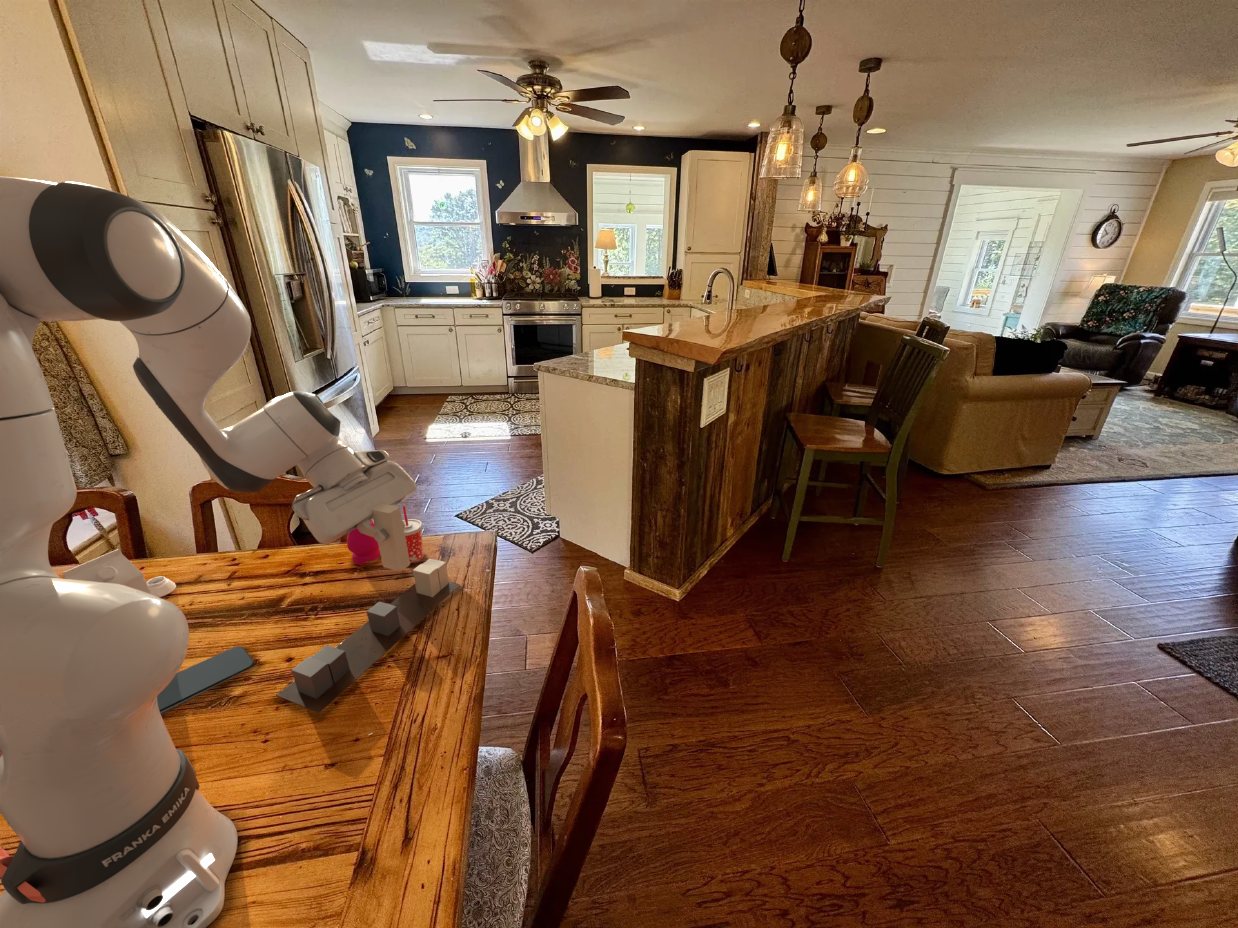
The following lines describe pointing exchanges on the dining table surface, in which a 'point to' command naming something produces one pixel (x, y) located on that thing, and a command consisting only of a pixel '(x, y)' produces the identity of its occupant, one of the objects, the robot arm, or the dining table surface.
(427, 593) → the cream white block
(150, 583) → the lidless jar
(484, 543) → the dining table surface
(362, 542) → the pepper mill
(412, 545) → the beverage cup
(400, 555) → the tall white block
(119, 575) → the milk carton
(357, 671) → the shelf plank
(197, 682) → the smartphone
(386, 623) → the dark grey block row
